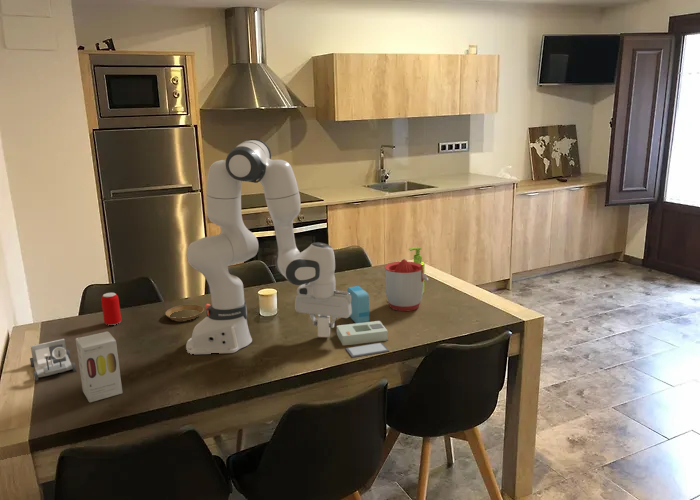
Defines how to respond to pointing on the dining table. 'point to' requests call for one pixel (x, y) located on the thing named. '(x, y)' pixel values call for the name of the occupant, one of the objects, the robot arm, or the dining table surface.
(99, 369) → the supplement box
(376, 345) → the phone
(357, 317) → the blue rounded block
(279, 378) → the dining table surface
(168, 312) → the plant saucer
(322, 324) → the plug
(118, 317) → the beverage can
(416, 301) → the citrus juicer
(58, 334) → the dining table surface
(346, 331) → the socket strip
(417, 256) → the soap dispenser
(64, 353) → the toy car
